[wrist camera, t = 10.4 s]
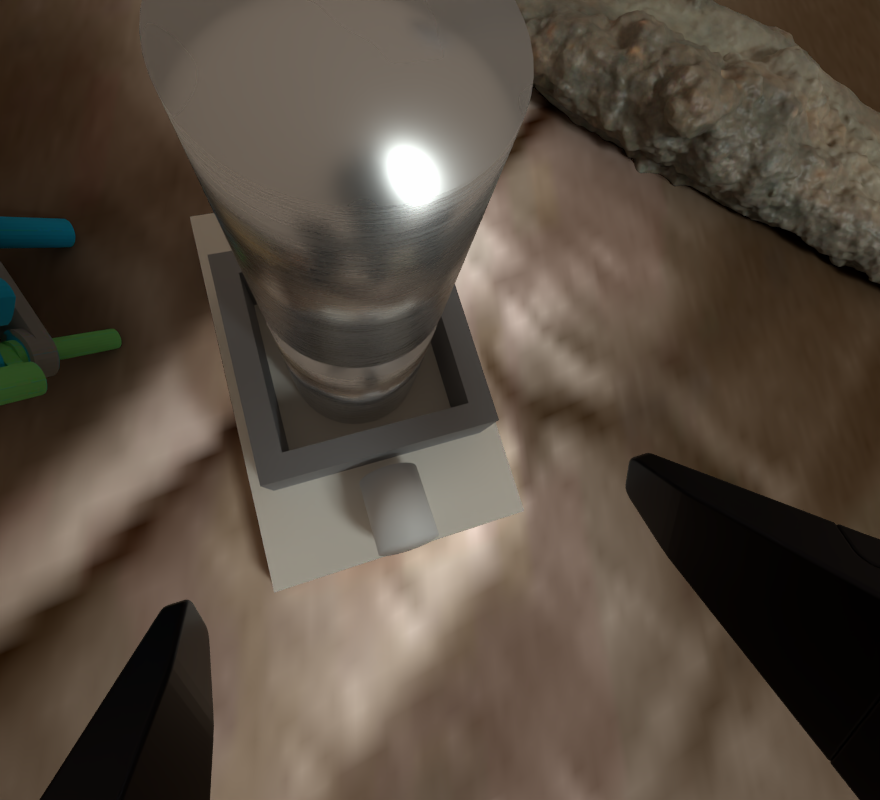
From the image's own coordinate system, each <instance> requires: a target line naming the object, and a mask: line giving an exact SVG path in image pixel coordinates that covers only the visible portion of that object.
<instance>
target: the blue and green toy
mask: <svg viewBox="0 0 880 800" xmlns="http://www.w3.org/2000/svg"><path fill="white" fill-rule="evenodd" d="M74 243H75V232H74V229H73V227H72V225H71V223H70V222H69V221H68V220H66V219H57V218H28V217H0V248H63V247H72V246H73V245H74ZM0 338H1V343H0V405H4V404H8V403H12V402H16V401H20V400H24V399H28V398H32V397H36V396H40V395H43V394H45V393H46V391H47V380H46V377H50V376H54V375H55V374H57V372H58V370H59V366H60V360H63V359H68V358H73V357H78V356H83V355H88V354H93V353H97V352H102V351H107V350H112V349H117V348H120V346H121V337H120V335H119V333H118V332H117V331H116V330H115V329H106V330H100V331H93V332H87V333H81V334H75V335H69V336H63V337H57V338H51V336H50V335H49V333H48V332H47V330H46V329H45V327H44V326H43V324H42V323H41V321H40V320H39V318H38V317H37V315H36V314H35V312H34V311H33V309H32V308H31V306H30V305H29V303H28V302H27V300H26V299H25V297H24V296H23V294H22V293H21V291H20V290H19V288H18V287H17V285H16V284H15V282H14V281H13V279H12V278H11V276H10V275H9V273H8V272H7V270H6V269H5V267H4V266H3V264H2V263H1V261H0Z"/></svg>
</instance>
